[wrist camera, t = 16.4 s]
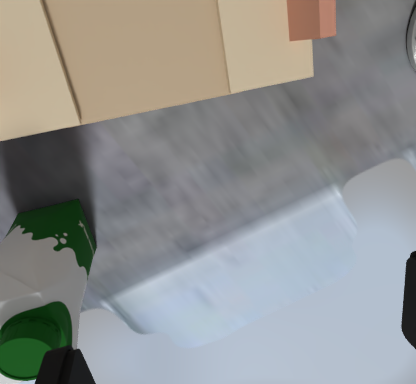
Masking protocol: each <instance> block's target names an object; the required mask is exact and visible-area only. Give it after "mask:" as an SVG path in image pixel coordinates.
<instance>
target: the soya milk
mask: <svg viewBox="0 0 416 384" xmlns="http://www.w3.org/2000/svg"><path fill="white" fill-rule="evenodd" d="M96 248H97V247H96V244H95V241H94V239H93V236H92V234H91V231H90V228H89V226H88V223H87V220H86V218H85V215H84V213H83V210H82V207H81V205H80V202H79V200H78V199H76V200H72V201H68V202H64V203H60V204H56V205H52V206H47V207H43V208H39V209H35V210H31V211H27V212H23V213H19V214H18V215H17V217H16V218H15V220H14V222H13V224H12V226H11V228H10V230H9V232H8V234H7V235H6V237H5V238H4V239H3V241H2V242H1V243H0V384H16V383H19V382H22V381H29V380H35V379H36V378H37V375H38V372H39V369H40V366H41V363H42V360H43V357H44V354H45V353H46V352H47V351H49V350H52V349H56V348H60V347H63V346H67V345H71V346H72V347H73V349H74V350H75V349H77V340H78V328H79V317H80V309H81V305H82V301H83V297H84V292H85V288H86V284H87V280H88V276H89V272H90V267H91V263H92V259H93V256H94V254H95V251H96Z"/></svg>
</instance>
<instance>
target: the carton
mask: <svg viewBox="0 0 416 384" xmlns="http://www.w3.org/2000/svg"><path fill="white" fill-rule="evenodd" d="M42 2H43V5H44V8H45V11H46V14H47V17H48V20H49V24H50V27H51V30H52V33H53V36H54V39H55V42H56V45H57V48H58V51H59V54H60V57H61V60H62V63H63V67H64V70H65V73H66V76H67V79H68V82H69V85H70V88H71V91H72V94H73V97H74V100H75V103H76V106H77V110H78V113H79V116H80V119H81V122H82V123H81V125H84V124H89V123H93V122H98V121H103V120H108V119H113V118H118V117H122V116H127V115H132V114H137V113H142V112H147V111H151V110H156V109H161V108H166V107H171V106H176V105H180V104H185V103H190V102H195V101H200V100H205V99H209V98H214V97H219V96H224V95H229V94H234V93H229V90H228V83H227V76H226V69H225V62H224V55H223V48H222V41H221V34H220V27H219V20H218V13H217V6H216V0H42ZM241 92H243V91H241ZM236 93H238V92H236ZM77 126H79V125H77ZM72 127H74V126H72ZM67 128H69V127H67Z"/></svg>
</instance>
